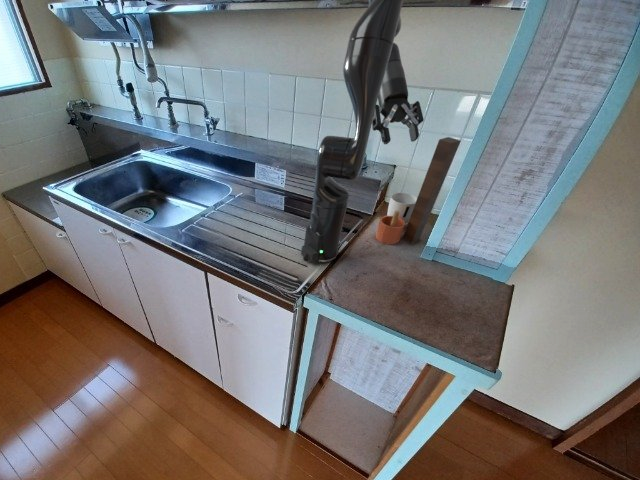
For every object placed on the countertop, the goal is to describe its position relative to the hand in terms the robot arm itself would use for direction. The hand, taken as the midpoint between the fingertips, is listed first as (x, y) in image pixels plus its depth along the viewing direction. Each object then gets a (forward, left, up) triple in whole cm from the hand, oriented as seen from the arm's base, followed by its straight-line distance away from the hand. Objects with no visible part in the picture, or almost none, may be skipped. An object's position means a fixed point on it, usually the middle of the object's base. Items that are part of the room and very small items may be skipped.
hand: (401, 141), depth 91 cm
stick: (-2, -7, -27) cm, 28 cm away
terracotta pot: (-2, -7, -27) cm, 28 cm away
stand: (+4, -11, -27) cm, 30 cm away
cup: (+6, -3, -28) cm, 28 cm away
